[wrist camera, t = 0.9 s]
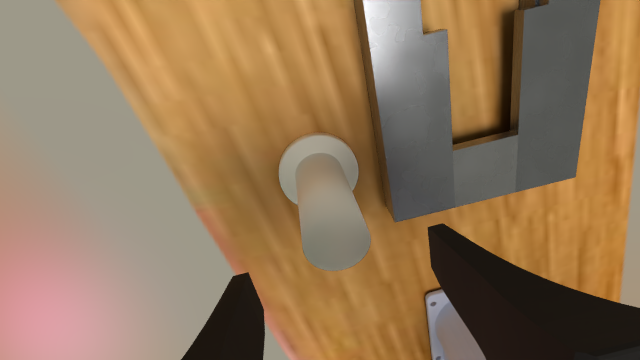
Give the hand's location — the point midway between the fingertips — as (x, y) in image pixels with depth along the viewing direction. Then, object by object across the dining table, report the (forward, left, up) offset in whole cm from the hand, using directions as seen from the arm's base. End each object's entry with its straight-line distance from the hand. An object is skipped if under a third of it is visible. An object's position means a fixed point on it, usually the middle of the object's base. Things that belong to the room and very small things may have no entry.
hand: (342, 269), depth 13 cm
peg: (0, 0, -10) cm, 10 cm away
